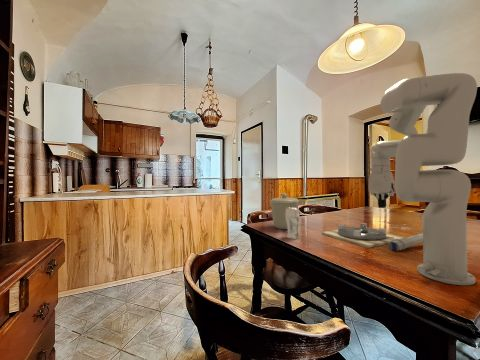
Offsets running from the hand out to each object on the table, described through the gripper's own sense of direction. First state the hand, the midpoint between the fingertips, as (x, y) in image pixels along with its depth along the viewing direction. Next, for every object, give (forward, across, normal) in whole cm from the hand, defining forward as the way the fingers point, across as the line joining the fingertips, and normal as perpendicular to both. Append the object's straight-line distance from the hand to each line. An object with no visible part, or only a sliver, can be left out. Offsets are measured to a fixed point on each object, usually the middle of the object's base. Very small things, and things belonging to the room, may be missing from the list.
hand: (382, 207), depth 104 cm
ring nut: (+13, -7, -7) cm, 16 cm away
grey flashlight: (+15, +14, -1) cm, 21 cm away
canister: (+15, -42, -28) cm, 52 cm away
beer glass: (+15, -22, -37) cm, 45 cm away
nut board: (+15, -7, -7) cm, 17 cm away
